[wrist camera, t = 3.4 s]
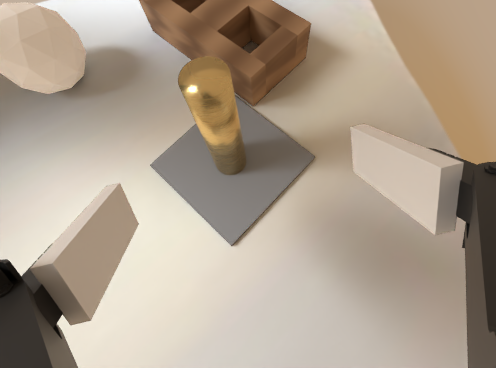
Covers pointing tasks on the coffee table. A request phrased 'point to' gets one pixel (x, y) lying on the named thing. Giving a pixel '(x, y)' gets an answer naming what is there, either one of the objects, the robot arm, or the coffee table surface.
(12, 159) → the coffee table surface
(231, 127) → the brass peg
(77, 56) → the beige faceted ovoid
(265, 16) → the walnut hole block
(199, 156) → the slate rubber mat
